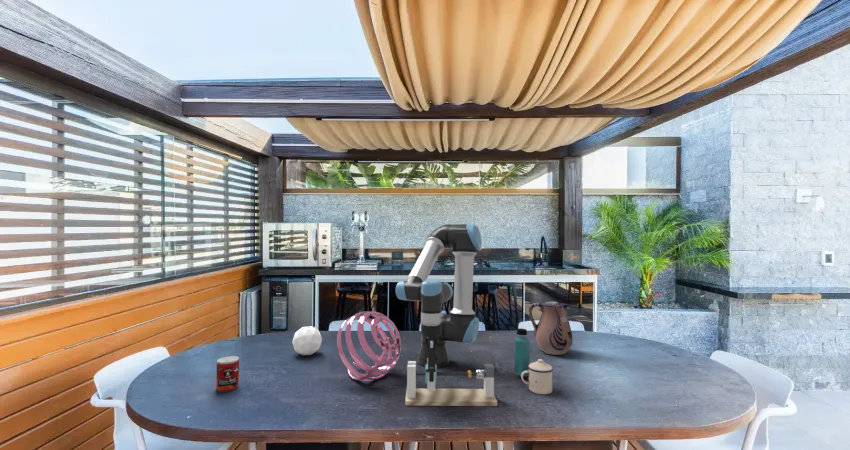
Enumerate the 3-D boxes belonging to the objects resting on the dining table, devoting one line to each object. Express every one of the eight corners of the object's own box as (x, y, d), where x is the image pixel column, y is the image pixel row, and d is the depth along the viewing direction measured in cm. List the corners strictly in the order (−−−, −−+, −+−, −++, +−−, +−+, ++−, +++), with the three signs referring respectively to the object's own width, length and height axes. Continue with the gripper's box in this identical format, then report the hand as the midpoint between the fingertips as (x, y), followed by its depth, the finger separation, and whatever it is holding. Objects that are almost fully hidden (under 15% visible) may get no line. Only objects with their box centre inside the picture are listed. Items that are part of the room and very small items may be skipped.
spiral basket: (316, 326, 163) (355, 295, 151) (366, 330, 183) (404, 304, 171) (325, 393, 148) (369, 364, 136) (378, 390, 167) (421, 365, 155)
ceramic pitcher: (578, 358, 184) (577, 306, 185) (534, 358, 184) (534, 306, 185) (565, 347, 201) (565, 300, 202) (525, 347, 202) (525, 300, 202)
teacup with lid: (548, 385, 150) (548, 355, 151) (556, 395, 141) (556, 363, 141) (518, 385, 150) (518, 355, 151) (524, 394, 141) (524, 363, 141)
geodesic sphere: (315, 335, 200) (302, 316, 193) (334, 339, 192) (320, 320, 185) (296, 358, 190) (281, 339, 183) (314, 364, 182) (299, 344, 175)
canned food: (215, 393, 140) (216, 363, 140) (216, 386, 147) (217, 357, 147) (238, 390, 143) (239, 360, 144) (238, 382, 151) (239, 354, 151)
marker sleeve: (425, 383, 135) (425, 369, 135) (425, 378, 140) (425, 364, 140) (436, 383, 135) (436, 369, 135) (436, 378, 140) (436, 364, 140)
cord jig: (405, 405, 131) (405, 369, 132) (406, 392, 142) (406, 358, 143) (497, 406, 132) (497, 369, 132) (491, 392, 143) (491, 359, 143)
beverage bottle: (530, 380, 155) (530, 331, 156) (514, 379, 157) (514, 330, 157) (529, 374, 162) (529, 327, 162) (513, 373, 163) (513, 326, 164)
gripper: (443, 332, 125) (443, 397, 125) (440, 316, 150) (439, 370, 150) (420, 332, 125) (420, 397, 125) (421, 316, 150) (420, 370, 150)
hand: (430, 382), depth 137 cm, fingers open, 13 cm apart
